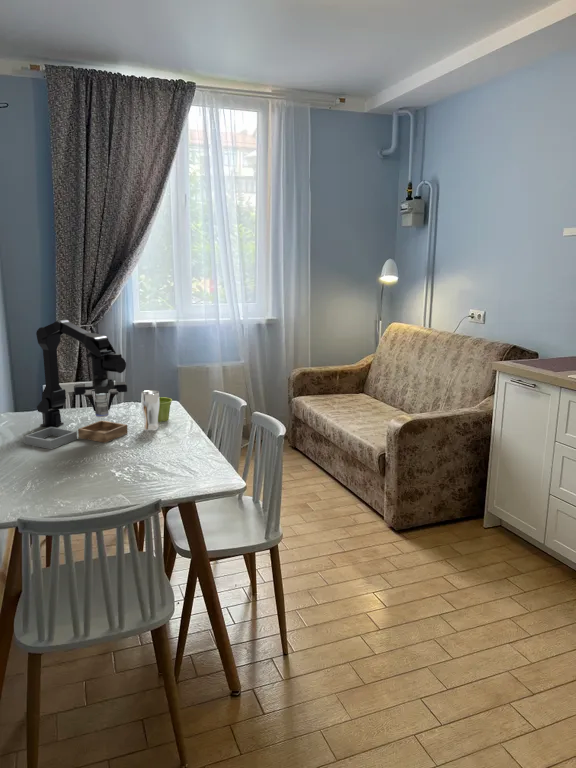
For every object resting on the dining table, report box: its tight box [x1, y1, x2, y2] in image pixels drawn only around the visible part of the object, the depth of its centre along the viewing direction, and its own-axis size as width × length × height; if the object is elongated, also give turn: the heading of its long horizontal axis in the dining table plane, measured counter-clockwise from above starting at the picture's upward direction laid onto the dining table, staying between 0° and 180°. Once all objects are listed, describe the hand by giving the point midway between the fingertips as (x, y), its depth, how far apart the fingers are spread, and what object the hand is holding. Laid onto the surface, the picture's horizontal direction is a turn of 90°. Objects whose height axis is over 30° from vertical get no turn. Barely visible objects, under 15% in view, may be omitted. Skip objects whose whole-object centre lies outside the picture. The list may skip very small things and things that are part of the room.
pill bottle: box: [94, 393, 109, 418], centre depth 218 cm, size 5×5×8 cm
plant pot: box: [158, 396, 173, 423], centre depth 241 cm, size 9×9×9 cm
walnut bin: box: [77, 419, 128, 444], centre depth 221 cm, size 13×13×4 cm
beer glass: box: [140, 390, 160, 432], centre depth 228 cm, size 7×7×15 cm
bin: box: [23, 427, 78, 450], centre depth 213 cm, size 13×13×3 cm
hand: (101, 410), depth 219 cm, fingers closed on pill bottle, 5 cm apart
